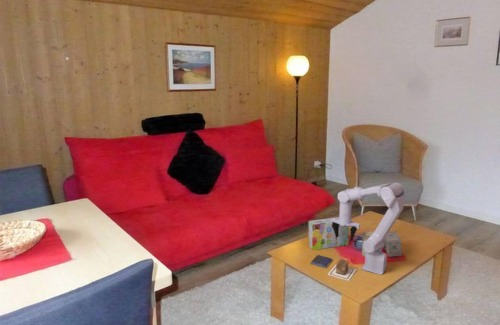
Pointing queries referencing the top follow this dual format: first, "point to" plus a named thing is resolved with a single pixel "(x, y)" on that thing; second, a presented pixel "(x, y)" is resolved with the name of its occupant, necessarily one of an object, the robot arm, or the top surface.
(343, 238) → the snack box
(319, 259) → the ink pad
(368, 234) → the skincare box
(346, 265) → the walnut stamp
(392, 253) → the incense holder
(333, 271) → the marked card
